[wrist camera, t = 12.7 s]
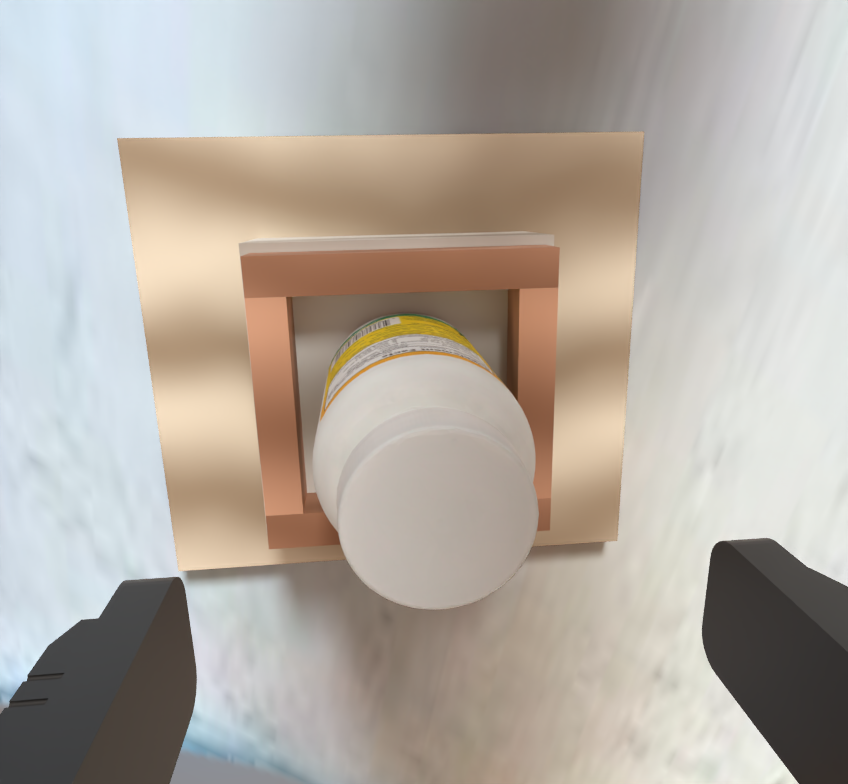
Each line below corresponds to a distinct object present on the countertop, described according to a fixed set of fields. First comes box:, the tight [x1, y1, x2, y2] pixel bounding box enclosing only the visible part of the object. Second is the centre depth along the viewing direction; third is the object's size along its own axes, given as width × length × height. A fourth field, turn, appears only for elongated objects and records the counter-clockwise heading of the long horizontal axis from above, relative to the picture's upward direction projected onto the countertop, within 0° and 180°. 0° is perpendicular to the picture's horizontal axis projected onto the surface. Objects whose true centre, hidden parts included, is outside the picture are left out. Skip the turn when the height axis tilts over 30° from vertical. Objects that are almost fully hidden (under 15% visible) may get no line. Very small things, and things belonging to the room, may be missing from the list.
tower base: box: [117, 132, 644, 571], centre depth 23 cm, size 17×19×7 cm
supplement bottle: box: [312, 312, 539, 610], centre depth 17 cm, size 5×5×10 cm
